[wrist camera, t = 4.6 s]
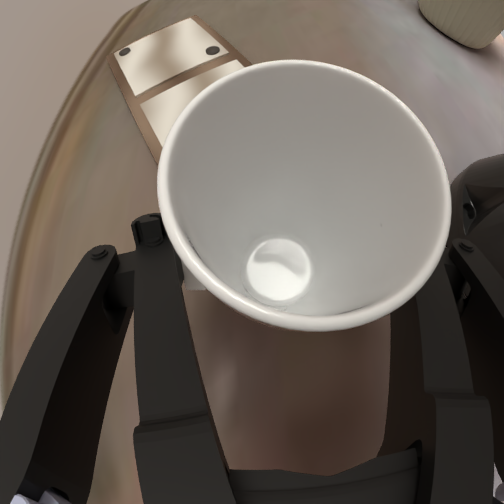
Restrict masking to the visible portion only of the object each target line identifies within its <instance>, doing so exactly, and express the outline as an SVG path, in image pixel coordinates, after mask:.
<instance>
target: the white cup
mask: <svg viewBox="0 0 504 504" xmlns="http://www.w3.org/2000/svg"><path fill="white" fill-rule="evenodd" d="M157 195H158V203H159V209H160V213H161V217H162V221H163V224H164V227H165V230H166V232H167V235H168V237H169V239H170V241H171V243H172V245H173V247H174V249H175V251H176V253H177V254H178V256H179V257H180V259H181V260H182V262H183V263H184V265H185V266H186V267H187V269H188V270H189V271H190V272H191V273H192V275H193V276H194V277H195V278H196V279H197V280H198V281H199V282H200V283H201V284H202V285H203V286H204V287H205V288H206V289H207V290H208V291H209V292H211V293H212V294H213V295H214V296H215V297H216V298H217V299H218V300H220V301H221V302H222V303H223V304H225V305H226V306H227V307H229V308H230V309H232V310H233V311H235V312H237V313H238V314H240V315H242V316H243V317H245V318H248V319H250V320H252V321H254V322H256V323H259V324H262V325H265V326H268V327H272V328H276V329H281V330H288V331H296V332H329V331H339V330H345V329H350V328H354V327H359V326H362V325H365V324H368V323H370V322H373V321H376V320H378V319H380V318H382V317H384V316H386V315H388V314H390V313H391V312H393V311H395V310H396V309H398V308H399V307H401V306H402V305H403V304H405V303H406V302H407V301H408V300H409V299H411V298H412V297H413V296H414V295H415V294H416V293H417V292H418V291H419V290H420V289H421V288H422V287H423V286H424V284H425V283H426V282H427V280H428V279H429V278H430V276H431V275H432V273H433V272H434V270H435V268H436V266H437V265H438V263H439V261H440V259H441V256H442V254H443V252H444V249H445V246H446V243H447V239H448V235H449V230H450V224H451V213H452V205H451V191H450V185H449V180H448V175H447V172H446V168H445V165H444V162H443V160H442V157H441V155H440V152H439V150H438V148H437V146H436V144H435V142H434V140H433V139H432V137H431V136H430V134H429V132H428V131H427V129H426V128H425V127H424V125H423V124H422V122H421V121H420V120H419V119H418V117H417V116H416V115H415V114H414V113H413V112H412V111H411V110H410V109H409V108H408V107H407V106H406V105H405V104H404V103H403V102H402V101H401V100H400V99H399V98H397V97H396V96H395V95H394V94H392V93H391V92H390V91H388V90H387V89H385V88H384V87H382V86H381V85H379V84H378V83H376V82H374V81H373V80H371V79H369V78H367V77H365V76H363V75H361V74H358V73H356V72H354V71H351V70H348V69H345V68H342V67H339V66H336V65H332V64H328V63H322V62H317V61H308V60H278V61H270V62H264V63H259V64H255V65H251V66H248V67H245V68H242V69H239V70H237V71H234V72H232V73H230V74H228V75H226V76H224V77H222V78H220V79H218V80H217V81H215V82H213V83H212V84H210V85H209V86H208V87H206V88H205V89H204V90H202V91H201V92H200V93H199V94H198V95H197V96H195V97H194V98H193V99H192V100H191V101H190V102H189V104H188V105H187V106H186V107H185V108H184V109H183V111H182V112H181V113H180V115H179V116H178V117H177V119H176V120H175V122H174V124H173V125H172V127H171V129H170V131H169V133H168V135H167V137H166V140H165V143H164V145H163V148H162V151H161V156H160V160H159V165H158V174H157ZM380 223H381V224H382V227H381V226H380Z"/></svg>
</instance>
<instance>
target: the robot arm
mask: <svg viewBox="0 0 504 504" xmlns="http://www.w3.org/2000/svg"><path fill="white" fill-rule="evenodd" d="M450 191H451V205H452V213H451V224H450V230H449V235H448V239H447V247H448V248H445V249H444V252H443V254H442V256H441V259H440V261H439V263H438V265H437V266H436V268H435V270H434V272H433V273H432V275H431V276H430V278H429V279H428V280H427V282H426V283H425V284H424V286H423V287H422V288H421V289H420V290H419V291H418V292H417V293H416V294H415V295H414V296H413V297H412V298H411V299H409V300H408V301H407V302H406V303H405V304H403V305H402V306H401V307H399V308H398V309H396V310H395V311H393V312H391V313H390V318H391V352H390V379H389V395H388V407H387V418H386V427H385V435H384V440H383V443H382V446H381V448H380V450H379V452H378V455H377V457H376V458H374V459H372V460H369V461H367V462H365V463H363V464H361V465H358V466H356V467H354V468H351V469H349V470H346V471H344V472H341V473H339V474H336V475H333V476H319V475H310V474H303V473H296V472H290V471H284V470H231V469H229V466H228V464H227V461H226V458H225V455H224V452H223V449H222V446H221V443H220V440H219V436H218V433H217V430H216V426H215V423H214V420H213V416H212V413H211V409H210V406H209V402H208V398H207V395H206V391H205V387H204V383H203V380H202V376H201V372H200V368H199V364H198V360H197V356H196V352H195V347H194V343H193V339H192V334H191V330H190V325H189V321H188V316H187V311H186V307H185V302H184V297H183V292H182V288H181V286H182V283H183V280H184V283H185V288H186V290H205V287H204V286H203V285H202V284H201V283H200V282H199V281H198V280H197V279H196V278H195V277H194V276H193V275H192V273H191V272H190V271H189V270H188V269H187V267H186V266H185V265H184V263H183V262H182V260H181V259H180V257H179V256H178V254H177V253H176V251H175V249H174V247H173V245H172V243H171V241H170V239H169V237H168V235H167V232H166V230H165V227H164V224H163V221H162V217H161V213H152V214H147V215H143V216H141V217H139V218H137V219H135V220H134V221H133V222H132V224H131V227H132V232H133V236H134V240H135V244H136V250H135V251H132V252H128V253H124V254H119V255H117V251H116V249H115V247H114V246H112V245H99V246H97V247H94V248H92V249H91V250H90V251H88V252H87V253H86V254H85V255H84V257H83V258H82V260H81V261H80V263H79V264H78V266H77V267H76V269H75V270H74V272H73V274H72V275H71V277H70V278H69V280H68V282H67V283H66V285H65V286H64V288H63V290H62V291H61V293H60V295H59V296H58V298H57V300H56V302H55V303H54V305H53V307H52V309H51V310H50V312H49V314H48V316H47V317H46V319H45V321H44V323H43V325H42V327H41V329H40V331H39V332H38V334H37V336H36V338H35V340H34V342H33V344H32V346H31V348H30V350H29V352H28V354H27V357H26V359H25V361H24V363H23V365H22V367H21V370H20V372H19V374H18V376H17V379H16V381H15V384H14V386H13V388H12V391H11V393H10V396H9V398H8V401H7V404H6V406H5V409H4V412H3V415H2V417H1V420H0V504H86V503H87V500H88V497H89V493H90V489H91V484H92V479H93V473H94V467H95V461H96V455H97V449H98V444H99V439H100V434H101V429H102V424H103V419H104V415H105V410H106V406H107V401H108V397H109V393H110V389H111V385H112V381H113V377H114V374H115V370H116V366H117V362H118V359H119V355H120V352H121V348H122V345H123V342H124V338H125V335H126V332H127V328H128V325H129V322H130V319H131V316H132V313H133V310H134V347H135V368H136V383H137V396H138V406H139V416H140V423H139V425H138V426H137V427H135V428H134V433H133V441H134V450H135V458H136V464H137V471H138V476H139V482H140V488H141V493H142V498H143V503H144V504H504V503H502V502H501V501H504V154H500V155H496V156H492V157H488V158H484V159H480V160H478V161H476V162H474V163H472V164H471V165H470V166H468V167H467V168H466V169H465V170H464V171H463V172H461V173H460V174H459V175H458V176H457V177H456V178H455V180H454V181H453V183H452V185H451V187H450ZM380 226H381V227H382V224H381V223H380ZM464 293H465V295H466V296H467V298H466V297H465V296H464ZM494 463H495V466H496V468H497V471H498V474H499V476H500V478H501V480H502V482H503V483H502V484H500V485H499V486H498V487H497V489H496V492H495V497H496V498H495V497H493V484H494Z"/></svg>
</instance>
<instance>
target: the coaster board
mask: <svg viewBox="0 0 504 504" xmlns="http://www.w3.org/2000/svg"><path fill="white" fill-rule="evenodd" d="M106 58H107V61H108V63H109V65H110V67H111V69H112V72H113V74H114V76H115V78H116V80H117V83H118V85H119V87H120V89H121V91H122V93H123V96H124V98H125V100H126V102H127V104H128V106H129V108H130V110H131V112H132V115H133V117H134V119H135V121H136V123H137V125H138V127H139V129H140V131H141V133H142V135H143V137H144V139H145V141H146V143H147V145H148V147H149V149H150V151H151V153H152V155H153V157H154V159H155V161H156V163H157V165H159V160H160V156H161V151H162V148H163V145H164V143H165V140H166V137H167V135H168V133H169V131H170V129H171V127H172V125H173V124H174V122H175V120H176V119H177V117H178V116H179V115H180V113H181V112H182V111H183V109H184V108H185V107H186V106H187V105H188V104H189V102H190V101H191V100H192V99H193V98H194V97H195V96H197V95H198V94H199V93H200V92H201V91H202V90H204V89H205V88H206V87H208V86H209V85H210V84H212V83H213V82H215V81H217V80H218V79H220V78H222V77H224V76H226V75H228V74H230V73H232V72H234V71H237V70H239V69H242V68H245V67H248V66H251V65H252V64H251V63H250V62H249V61H248V60H247V59H246V58H245V57H244V56H243V55H242V54H241V53H240V52H238V51H237V50H236V49H235V48H234V47H233V46H232V45H231V44H230V43H229V42H227V41H226V40H225V39H224V38H223V37H222V36H221V35H219V34H218V33H217V32H216V31H215V30H214V29H212V28H211V27H210V26H209V25H208V24H207V23H205V22H204V21H203V20H202V19H200V18H199V17H198V16H197V15H194V16H192V17H189V18H186V19H184V20H181V21H179V22H176V23H174V24H171V25H169V26H166V27H164V28H162V29H160V30H157V31H155V32H153V33H151V34H149V35H146V36H144V37H142V38H140V39H138V40H136V41H134V42H132V43H130V44H128V45H126V46H125V47H123V48H121V49H119V50H117V51H115V52H114V53H112V54H110V55H108V56H107V57H106Z"/></svg>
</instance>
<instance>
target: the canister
mask: <svg viewBox="0 0 504 504" xmlns="http://www.w3.org/2000/svg"><path fill="white" fill-rule="evenodd" d="M418 4H419V8H420V10H421V12H422V14H423V15H424V16H425V18H426V19H427V20H428V21H429V22H430V23H432V25H434V26H435V27H436V28H437V29H439V30H440V31H441V32H443V33H444V34H445V35H447V36H449V37H450V38H452V39H454V40H455V41H457V42H459V43H461V44H463V45H465V46H467V47H470V48H474V49H481V48H484V47H486V46H488V45H489V44H490V43H491V42H492V41H493V40H494V39H495V38H496V37H497V36H498V35H499V34H500V33H501V31H503V30H504V0H418Z"/></svg>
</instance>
